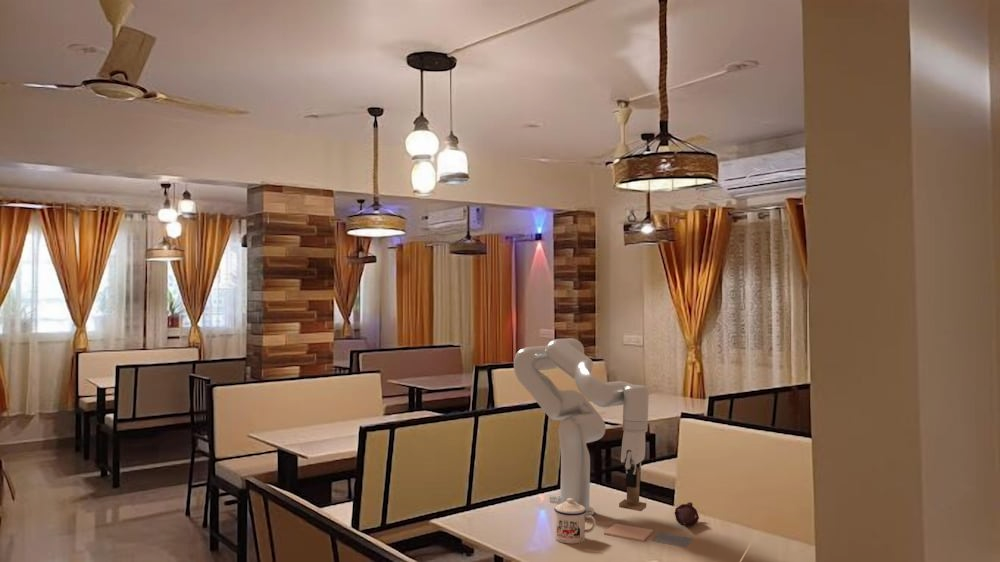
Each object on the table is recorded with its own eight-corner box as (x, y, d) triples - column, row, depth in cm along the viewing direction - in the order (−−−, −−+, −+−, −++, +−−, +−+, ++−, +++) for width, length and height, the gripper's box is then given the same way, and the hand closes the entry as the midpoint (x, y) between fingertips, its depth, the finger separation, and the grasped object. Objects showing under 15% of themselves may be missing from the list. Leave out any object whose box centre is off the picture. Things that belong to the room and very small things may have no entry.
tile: (614, 528, 221) (603, 537, 212) (614, 523, 221) (603, 532, 213) (653, 535, 216) (643, 544, 207) (653, 530, 216) (643, 539, 207)
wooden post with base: (618, 507, 219) (620, 467, 219) (624, 503, 223) (625, 463, 223) (641, 511, 216) (642, 470, 216) (646, 507, 220) (647, 467, 220)
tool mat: (651, 542, 208) (651, 540, 208) (660, 533, 215) (660, 532, 215) (686, 548, 203) (686, 547, 203) (693, 539, 211) (693, 538, 211)
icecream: (700, 513, 215) (703, 504, 229) (675, 504, 218) (680, 495, 232) (693, 535, 215) (697, 525, 229) (669, 526, 218) (674, 516, 232)
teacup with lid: (552, 542, 206) (552, 501, 206) (556, 532, 215) (557, 493, 215) (594, 546, 203) (594, 505, 203) (596, 536, 212) (597, 496, 212)
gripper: (631, 420, 229) (629, 477, 228) (614, 428, 214) (612, 489, 214) (654, 422, 225) (652, 481, 225) (638, 431, 211) (636, 494, 210)
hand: (633, 484), depth 219 cm, fingers closed on wooden post with base, 3 cm apart
